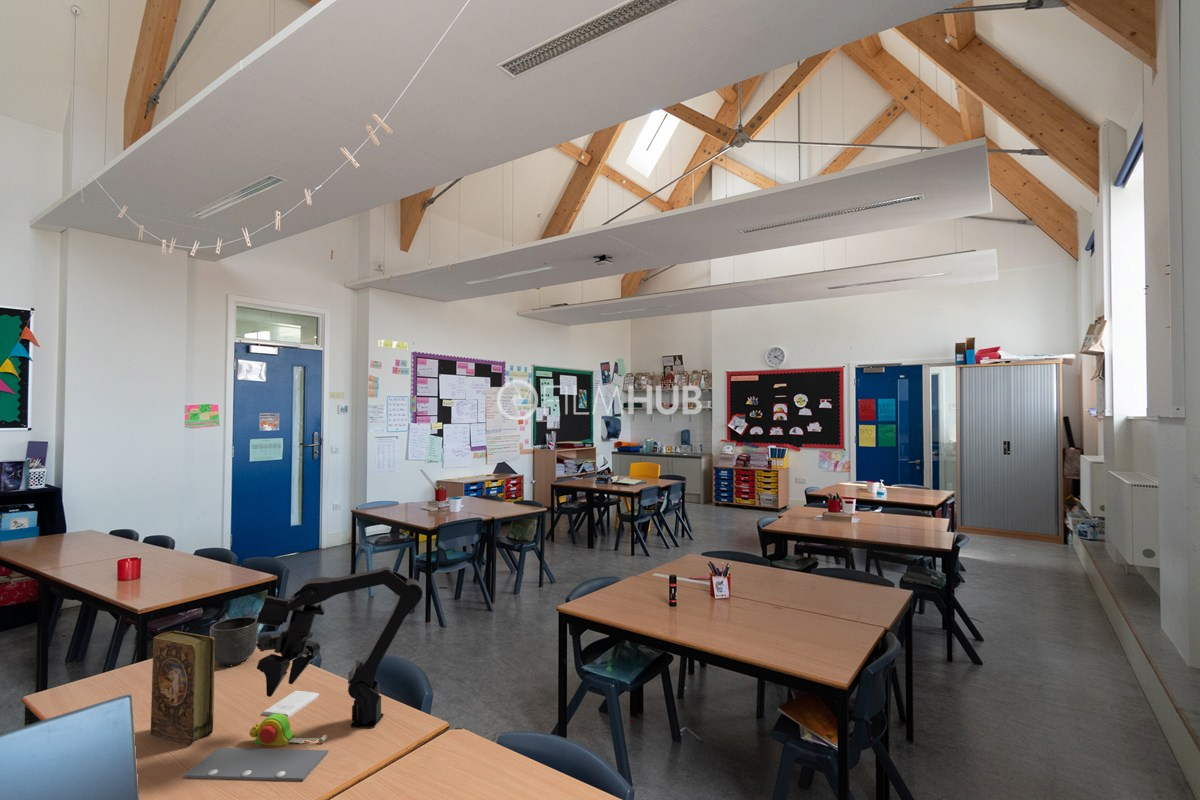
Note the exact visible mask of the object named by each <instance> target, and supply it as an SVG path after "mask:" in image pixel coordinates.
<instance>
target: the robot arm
mask: <svg viewBox="0 0 1200 800" xmlns="http://www.w3.org/2000/svg"><path fill="white" fill-rule="evenodd" d="M381 585H384V586H385V587H387V588H388V589H389V590H390V591H392V592H393V593H394V594H396V597H395V599H394V600H395V601H394V603H393V608H392V610H391V612H390V613H389V615H388V617H387V619H386V620H385V622H384V625H382V628H381V630H380V631H379V633H378V635H377V637H376V638H375V640H374V642H373V644H372V645H371V647H370V649H369V651H368V653H367V655H366V656H365V657H364V658H363V659H362V660H361V661H360V660H358V659H356V660H355V663H354V665H353V667H352V668H351V670H350V671H349V672H348V679H347V684H348V687H347V688H348V689H347V692H348V694H349V697H351V698H352V699H354V700H353V705H352V706H351V721H352V723H351V724H350V728H366V729H367V728H369V729H370V728H371V729H372V728H373V729H374V728H375V727H376V725H377V724H379V722H380V721H381V719H383V718H384V713H382V695H380V683H379V681H377V680H376V676H377V672H378V669H379V666H380V664H381V662H382V661H383V659H384V657H385V655H386V653H387V651H388V649H390V646H391V644H392V642H393V640H394V639H395V637H396V635H397V633H398V631H399V629H400V627H401V626H402V624H403V622H404V620H405V619H406V617H407V616H408V615H409V614H410V613H411V612H412V611H413V610H415V608H416V606H418V604H419V603H420V601H421V600H422V597H423V589H422V587H421V584H420V582H419V581H418V580H416V579H414V578H407V577H406V576H405V575H403V574H400V573H399V572H397V571H395V570H393V569H392V568H391V567H390V566H383V567H381V568H377V569H371V570H367V571H362V572H358V573H352V574H349V575H344V576H339V577H330V576H329V577H327V576H321V577H310V578H307V579H306V580H305V581H303V582H302V584H301V585H300V588H299V589H298V590H297V591H295V593H293V594H292V595H291V596H290V597H289V599H287V598H282V597H281V598H280V597H275V596H272V595H266V597H265V599H264V600H263V601H264V602H263V604H262V607H261V609H260V610H259V612H258V615H257V617H256V618H257V622H256V623H257V624H259V625H265V626H266V625H267V626H274V627H281V626H282V625H284V624H287V622H288V618H289V616H290V611H291V612H292V613H291V616H290V618H289V622H288V625H287V628H286V630H283V631H281V633H273V634H267V635H266V634H263V635H260V636H259V638H258V639H257V644H256V649H258V650H259V651H260V652H264V651H265V652H266V651H270V650H271V651H272V650H274V651H273V652H274V653H271V654H268V655H266V656H264V657H262V658H261V659H259V660H258V662H257V666H256V669H257V670H258V671H260V672H261V673H263V674H264V676H265V682H266V683H265V684H266V687H265V689H266V691H265V692H266V697H268V698H271V697H272V696H273V695H274V693H275V692H276V691H277V689H278V688H279V686H280V685H281V683H282V682H283V680H284V679H285V677H286V675H287V674H288V669H290V673H289V677H288V684H289V685H294V683H295V682H296V681H297V680H298V678H299V677H300V676H301V674H303V672H304V671H305V670H306V668H307V667H308V666H309V665H310V664H311V662H313V660H314V659H315V658H316V656H318V655H319V654H320V650H321V646H320V644H319V643H318V642H317V641H316V642H315V641H311V640H309V639H311V638H313V635H314V632H312V628H313V625H314V622H315V619H316V616H317V615H319V616H324V614H325V611H326V608H325V607H324V606H323V603H322V602H325V601H326V600H329V599H330V598H332V597H334V596H337V595H339V594H346V593H350V592H353V591H358V590H363V589H367V588H372V587H376V586H381ZM275 653H276V654H275ZM277 654H280V655H281V656H280V655H277ZM291 662H292V663H291ZM290 665H291V668H289V667H290Z"/></svg>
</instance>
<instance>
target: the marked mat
mask: <svg viewBox="0 0 1200 800" xmlns="http://www.w3.org/2000/svg"><path fill="white" fill-rule="evenodd" d="M328 752H329V750H328V749H298V748H297V749H295V748H293V749H291V748H257V747H256V748H253V747H252V748H251V747H248V748H247V747H217V748H215V750H213V751H212V752H211V753H209V754H208V755H207V756H206V757H204V758H203V759H202V760H201V761H200V762H198V763H197V764H196V765H195V766H193V767H192V768H191V769H190V770H188V771H187V772H186V773H184V774H183V778H184V777H190V778H189V779H209V780H211V779H216V780H217V779H218V780H245V781H246V780H248V781H249V780H251V781H256V780H257V781H282V780H291V781H293V782H295V781H296V782H299V781H298V780H304V781H305V780H306V779H307V777H308V776H309V775H310V774H311V773H312V772H313V771H314V769H316V767H317V766H318V765H319V764H320V763H321V762H322V761H323V760H324V758H325V757H326V756H327V755H328V754H329V753H328ZM327 753H328V754H327ZM321 760H322V761H321ZM311 771H312V772H311ZM310 772H311V773H310ZM291 781H290V782H291Z"/></svg>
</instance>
